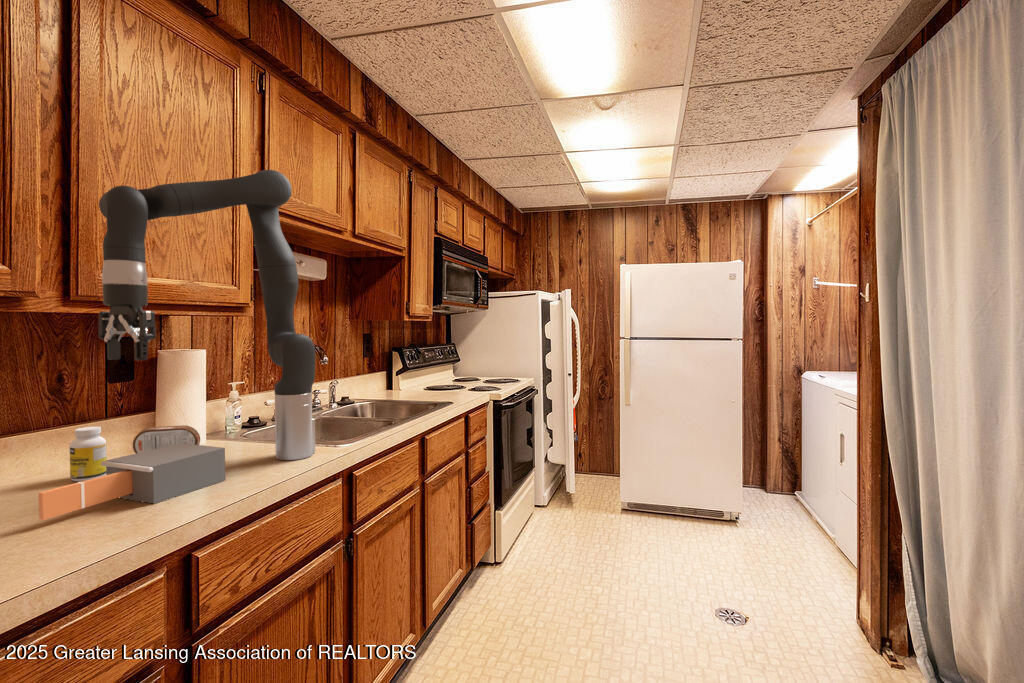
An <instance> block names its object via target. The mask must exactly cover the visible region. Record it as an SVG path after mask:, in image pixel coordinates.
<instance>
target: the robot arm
mask: <svg viewBox="0 0 1024 683" xmlns="http://www.w3.org/2000/svg"><path fill="white" fill-rule="evenodd" d="M292 192H293V188H292V185H291V183H290V180H289V179H288V177H287V176H285V174H283V173H282V172H279V171H277V170H273V169H264V170H260V171H257V172H255V173H252V174H249V175H244V176H240V177H232V178H227V179H226V178H225V179H224V178H223V179H217V180H216V179H215V180H204V181H203V180H202V181H201V180H200V181H186V182H173V183H164V184H159V185H155V186H152V187H149V188H140V189H138V188H134V187H132V186H129V185H117V186H114V187H112V188H110V189H109V190H108V191H106V192H105V193H104V194H103V195H101V197H100V199H99V202H98V209H99V208H100V209H99V211H100V213H101V214H102V216H103V217H104V218H105V219H106V233H105V235H104V238H103V243H102V245H103V246H102V254H103V255H102V256H103V260H102V261H103V262H102V263H103V264H102V270H101V272H102V273H101V274H102V276H101V277H102V278H101V279H102V304H103V305H105V306H107V307H108V306H109V311H107V310H106V311H105V310H104V311H99V312H100V313H99V312H98V331H97V332H98V335H97V336H98V339H99V340H104V342H105V343H106V355H107V356H106V357H107V358H106V359H107V360H109V361H111V360H112V361H116V360H120V359H121V358H122V357H121V356H122V355H121V352H122V351H121V350H122V349H121V342H120V340H121V339H122V337H123V335H125V334H126V333H127V334H128V335H130V336H131V338H132V339H133V340H134V343H133V346H134V347H133V348H134V350H133V351H134V360H135V361H147V360H148V358H149V345H148V344H149V342H151V340H155V339H156V338H157V333H156V332H157V331H156V316H155V311H154V310H145V309H143V307H147V306H148V305H149V294H148V293H149V292H148V291H149V290H148V289H149V286H148V270H147V266H146V265H147V264H146V260H147V259H146V244H145V240H146V233H147V228H148V221H151V220H156V219H159V218H160V219H161V218H167V217H168V218H169V217H170V218H172V217H173V218H174V217H181V216H187V215H188V216H189V215H196V214H201V213H208V212H211V211H215V210H216V211H217V210H220V209H225V208H229V207H234V206H235V207H236V206H244V205H245V206H246V209H247V212H248V216H249V220H250V225H251V228H252V229H251V230H252V233H253V241H254V250H255V254H256V261H257V262H256V264H257V269H258V277H259V281H260V286H261V292H262V298H263V305H264V311H265V317H266V320H265V321H266V333H267V334H266V335H267V337H266V338H267V352H268V356H269V358H270V360H271V362H272V363H274V364H275V365H276V366H277V367H282V369H281V378H280V379H279V380H278V381H277V382H276V383H275V384H274V427H275V428H274V429H275V430H274V433H275V435H274V436H275V437H274V438H275V442H274V444H275V459H276V460H280V461H296V460H301V459H305V458H306V459H307V458H309V457H312V456H313V455H312V454H315V453H316V421H315V418H313V397H312V396H313V394H312V393H313V385H314V383H315V379H316V357H317V356H316V354H317V353H316V347H315V344H314V342H313V339H312V338H310V336H308V335H306V334H302V333H297V331H296V326H295V322H294V321H295V320H294V308H295V304H296V299H297V296H298V290H299V275H298V274H299V273H298V269H297V268H298V267H297V263H296V259H295V258H296V257H295V255H294V253H293V250H292V248H291V247H290V245H289V243H288V242H287V239H286V238H285V235H284V233H283V230H282V226H281V222H280V214H279V212H280V211H279V207H281V206H283V205H285V204H286V203H287V202H288V201H289V200H290V198H291V197H292ZM148 329H149V330H148ZM148 331H149V333H148ZM314 452H315V453H314Z"/></svg>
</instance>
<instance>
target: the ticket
mask: <svg viewBox="0 0 1024 683" xmlns="http://www.w3.org/2000/svg"><path fill="white" fill-rule="evenodd" d="M132 493H133V470H125V471H121V472H117V473H113V474H109V475H105V476H102V477H98V478H94V479H90V480H86V481H77V482H75V483H70V484H67V485H63V486H59V487H56V488H52V489H51V488H50V489H48V490H43V491H39V492H38V494H37V495H38V496H37V498H38V499H37V500H38V520H40V521H41V520H42V521H45V520H48V519H51V518H55V517H59V516H61V515H62V516H63V515H65V514H69V513H72V512H75V511H79V510H81V509H85V508H89V507H92V506H95V505H99V504H102V503H104V502H108V501H111V500H115V499H120V498H119V497H122V496H125V495H129V494H132Z"/></svg>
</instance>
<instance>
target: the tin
mask: <svg viewBox="0 0 1024 683" xmlns="http://www.w3.org/2000/svg"><path fill="white" fill-rule="evenodd" d="M180 443H184V444H193V445H200V443H201V436H200V432H198V430H197V429H195V428H194V427H193V426H189V425H184V424H183V425H182V424H181V425H165V426H149V427H147V428H143V429H142V430H141V431H139V432H138V434H136V436H135V437H134V438H133V440H132V449H133V452H134V454H136V453H140V452H145V451H149V450H154V449H158V448H162V447H167V446H171V445H175V444H180Z"/></svg>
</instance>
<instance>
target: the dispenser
mask: <svg viewBox="0 0 1024 683" xmlns="http://www.w3.org/2000/svg"><path fill="white" fill-rule="evenodd" d="M101 466H106V475H109V474H113V473H117V472H121V471H125V470H133V493H132V494H129V495H125V496H122V497H120V498H125V499H124V500H126V499H131V500H130V501H132V500H136V501H135V502H138V501H143V502H142V503H144V502H148V503H147V504H150V503H156V504H158V502H159V503H161V501H162V502H165V501H168V500H171V499H174V498H176V497H175V496H177V497H180V496H183V495H185V493H186V494H189V493H192V492H194V491H193V490H195V491H197V490H196V489H198V490H201V489H204V488H207V487H210V486H213V485H216V484H219V483H222V482H225V481H226V448H225V447H220V446H210V445H203V444H202V445H200V444H199V445H193V444H184V443H180V444H175V445H171V446H167V447H162V448H158V449H154V450H149V451H145V452H140V453H133V454H128V455H124V456H120V457H114V458H111V459H110V458H109V459H107V460H106V461H102V462H101ZM106 475H105V476H106ZM224 480H225V481H224ZM221 481H222V482H221ZM218 482H219V483H218ZM215 483H216V484H215ZM212 484H213V485H212ZM203 487H204V488H203ZM200 488H201V489H200ZM191 491H192V492H191ZM188 492H189V493H188ZM182 494H183V495H182ZM179 495H180V496H179ZM173 497H174V498H173ZM120 498H119V499H120ZM170 498H171V499H170ZM167 499H168V500H167ZM164 500H165V501H164Z"/></svg>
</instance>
